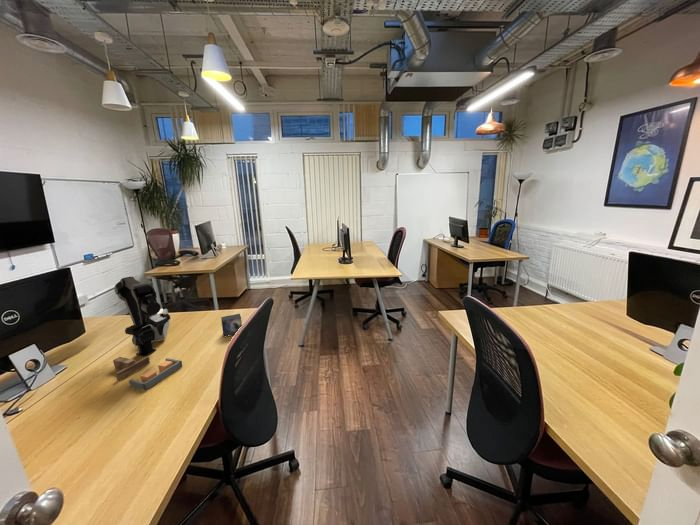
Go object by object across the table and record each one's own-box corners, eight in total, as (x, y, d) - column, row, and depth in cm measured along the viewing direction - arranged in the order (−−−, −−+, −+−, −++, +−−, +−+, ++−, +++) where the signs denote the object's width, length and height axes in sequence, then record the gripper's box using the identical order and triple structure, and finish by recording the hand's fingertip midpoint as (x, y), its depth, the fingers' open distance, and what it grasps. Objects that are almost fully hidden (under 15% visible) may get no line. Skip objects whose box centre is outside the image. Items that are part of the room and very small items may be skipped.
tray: (130, 386, 121) (128, 380, 120) (168, 363, 137) (167, 358, 137) (145, 390, 118) (144, 384, 117) (182, 366, 135) (181, 360, 134)
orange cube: (159, 372, 130) (158, 365, 129) (167, 368, 134) (166, 360, 133) (166, 374, 129) (164, 366, 128) (173, 369, 133) (172, 361, 132)
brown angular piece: (102, 376, 129) (99, 366, 128) (133, 360, 142) (131, 350, 141) (119, 380, 125) (117, 370, 124) (150, 363, 138) (148, 354, 137)
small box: (223, 337, 162) (221, 320, 160) (222, 333, 168) (220, 316, 165) (243, 333, 167) (241, 316, 164) (241, 329, 172) (239, 313, 170)
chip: (142, 383, 123) (140, 375, 122) (151, 378, 126) (149, 370, 125) (148, 385, 121) (147, 377, 120) (157, 379, 125) (156, 371, 124)
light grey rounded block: (152, 327, 179) (149, 309, 177) (170, 323, 183) (166, 306, 181) (145, 346, 155) (141, 326, 153) (165, 341, 160) (161, 322, 157)
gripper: (139, 319, 124) (145, 351, 127) (176, 304, 141) (181, 333, 145) (121, 316, 127) (128, 348, 131) (159, 302, 145) (164, 330, 148)
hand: (152, 339), depth 139 cm, fingers open, 9 cm apart
